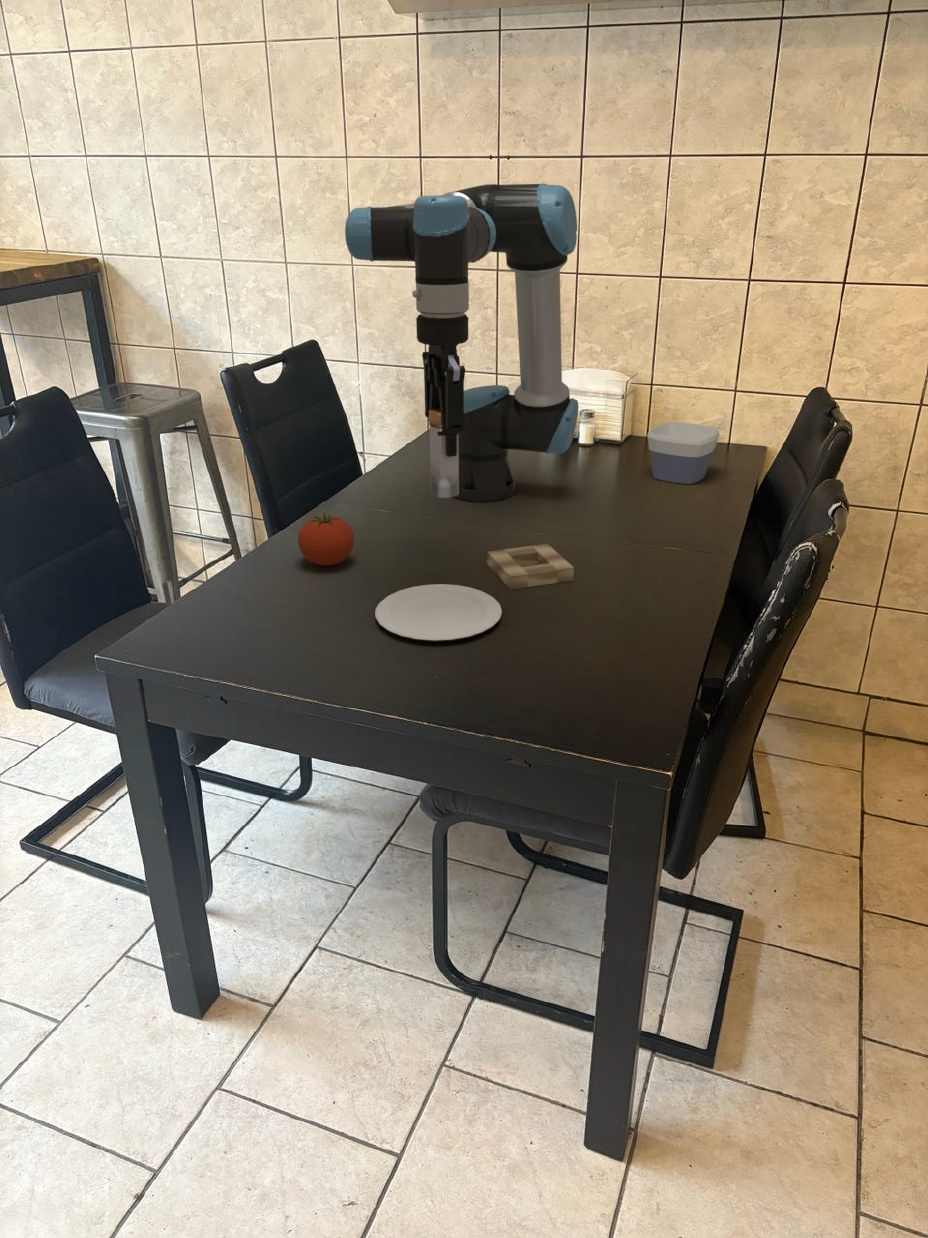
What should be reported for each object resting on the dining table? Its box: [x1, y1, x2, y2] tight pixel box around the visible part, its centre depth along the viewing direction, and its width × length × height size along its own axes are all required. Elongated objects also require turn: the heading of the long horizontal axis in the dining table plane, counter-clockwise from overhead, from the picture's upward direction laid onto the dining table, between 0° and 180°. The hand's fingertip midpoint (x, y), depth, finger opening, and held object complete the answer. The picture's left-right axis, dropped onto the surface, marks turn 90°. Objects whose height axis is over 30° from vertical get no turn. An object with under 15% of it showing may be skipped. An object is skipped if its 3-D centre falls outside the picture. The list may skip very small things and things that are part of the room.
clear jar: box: [428, 407, 459, 499], centre depth 140 cm, size 4×4×13 cm
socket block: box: [486, 543, 575, 590], centre depth 165 cm, size 12×12×2 cm
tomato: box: [297, 512, 355, 567], centre depth 168 cm, size 10×10×10 cm
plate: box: [374, 583, 503, 643], centre depth 150 cm, size 21×21×2 cm
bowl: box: [646, 421, 720, 485], centre depth 214 cm, size 15×15×11 cm
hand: (444, 470), depth 141 cm, fingers closed on clear jar, 4 cm apart
